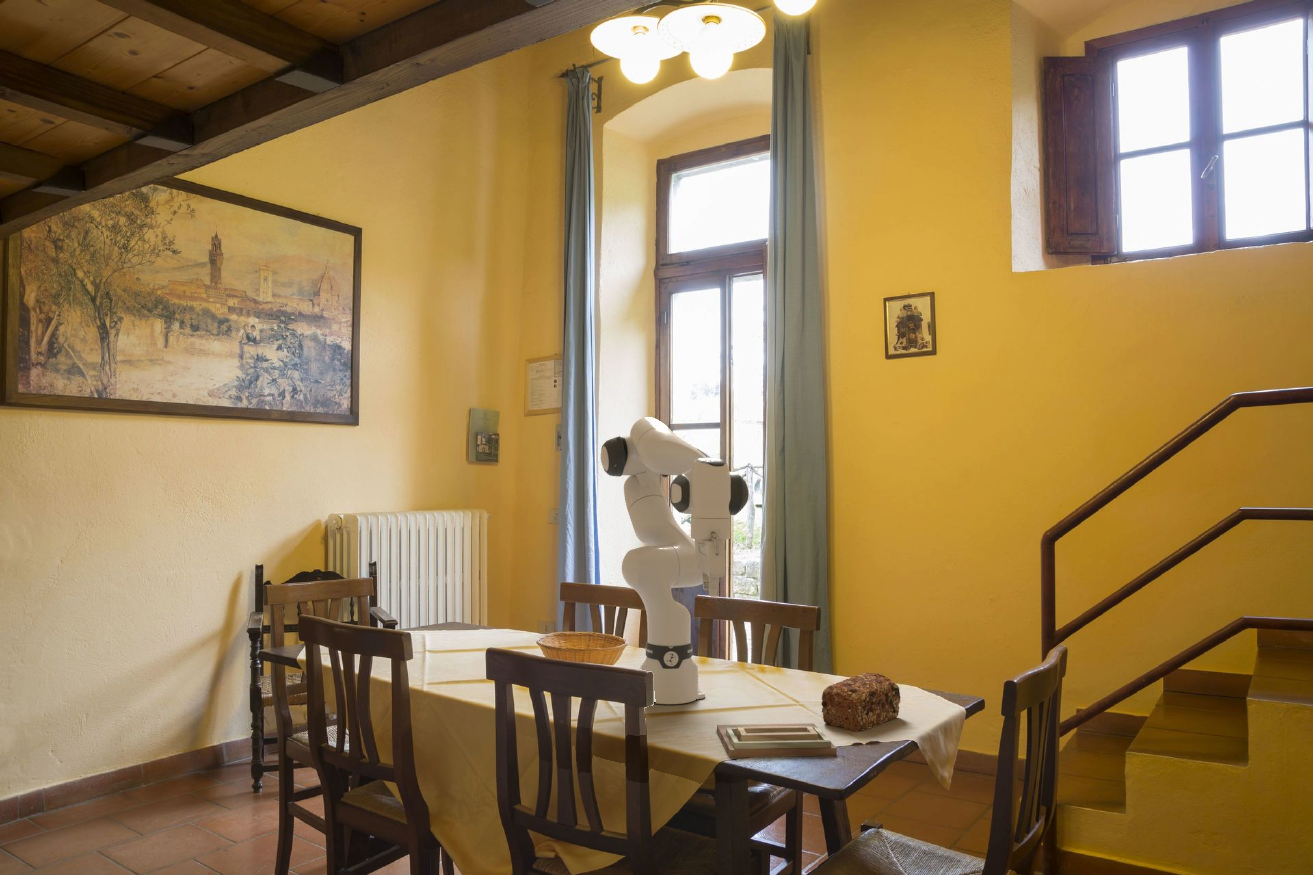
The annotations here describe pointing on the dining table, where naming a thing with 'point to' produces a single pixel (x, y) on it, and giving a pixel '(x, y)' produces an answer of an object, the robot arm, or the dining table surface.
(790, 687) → the dining table surface
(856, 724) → the bread
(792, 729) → the frame
